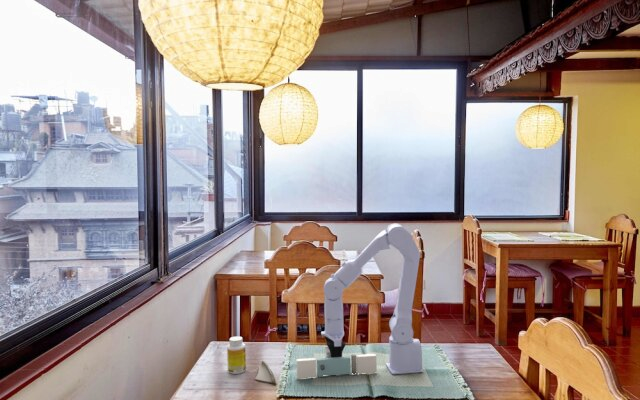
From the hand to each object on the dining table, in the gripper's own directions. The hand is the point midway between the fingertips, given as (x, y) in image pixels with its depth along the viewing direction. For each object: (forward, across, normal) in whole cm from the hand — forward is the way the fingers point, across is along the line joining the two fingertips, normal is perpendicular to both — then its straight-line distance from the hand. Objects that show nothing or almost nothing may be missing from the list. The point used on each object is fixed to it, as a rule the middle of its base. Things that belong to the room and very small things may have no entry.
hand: (334, 361), depth 144 cm
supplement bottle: (+3, -4, -30) cm, 30 cm away
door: (+2, +5, -1) cm, 6 cm away
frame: (+2, +5, 0) cm, 5 cm away
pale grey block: (+2, 0, 0) cm, 2 cm away
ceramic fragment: (+3, +2, -21) cm, 21 cm away
